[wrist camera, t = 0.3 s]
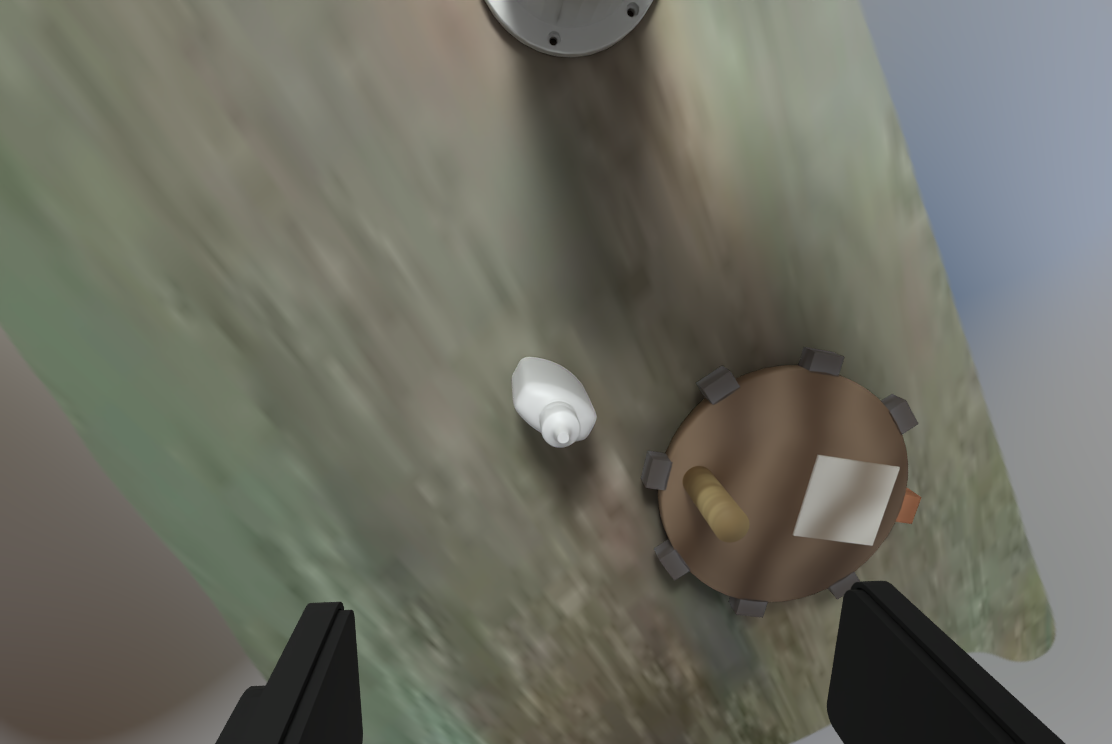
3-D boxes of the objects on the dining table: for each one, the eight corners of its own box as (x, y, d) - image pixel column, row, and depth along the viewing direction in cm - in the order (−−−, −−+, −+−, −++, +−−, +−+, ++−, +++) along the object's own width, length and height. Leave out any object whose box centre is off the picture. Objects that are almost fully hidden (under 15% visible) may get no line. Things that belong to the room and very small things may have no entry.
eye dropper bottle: (543, 424, 47) (558, 493, 35) (504, 368, 45) (505, 421, 34) (590, 395, 46) (619, 454, 35) (551, 337, 45) (568, 379, 33)
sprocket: (614, 589, 49) (637, 665, 41) (677, 324, 44) (719, 350, 35) (861, 616, 52) (929, 692, 44) (949, 372, 47) (1046, 406, 38)
